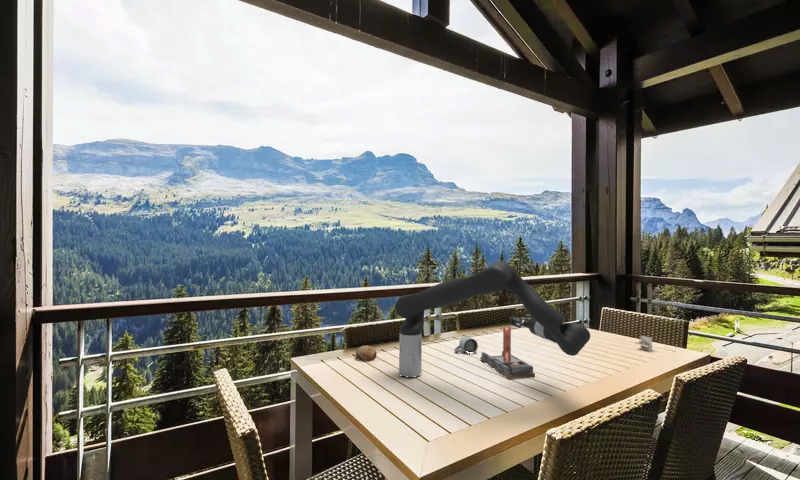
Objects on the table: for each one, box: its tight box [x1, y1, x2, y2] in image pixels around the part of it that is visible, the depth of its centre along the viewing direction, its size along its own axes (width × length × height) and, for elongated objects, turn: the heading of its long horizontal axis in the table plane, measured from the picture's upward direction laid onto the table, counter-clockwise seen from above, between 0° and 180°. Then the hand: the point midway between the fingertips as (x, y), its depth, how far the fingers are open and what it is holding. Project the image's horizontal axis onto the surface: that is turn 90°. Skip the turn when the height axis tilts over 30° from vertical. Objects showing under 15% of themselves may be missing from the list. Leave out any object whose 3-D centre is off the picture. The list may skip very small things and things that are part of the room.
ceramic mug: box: [454, 336, 479, 354], centre depth 196 cm, size 11×8×8 cm
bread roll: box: [355, 344, 378, 362], centre depth 185 cm, size 10×10×8 cm
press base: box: [480, 350, 536, 380], centre depth 171 cm, size 26×12×5 cm, turn 13°
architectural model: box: [634, 335, 653, 353], centre depth 199 cm, size 3×7×7 cm, turn 28°
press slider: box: [494, 326, 521, 367], centre depth 170 cm, size 8×8×16 cm
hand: (520, 318), depth 160 cm, fingers open, 8 cm apart
